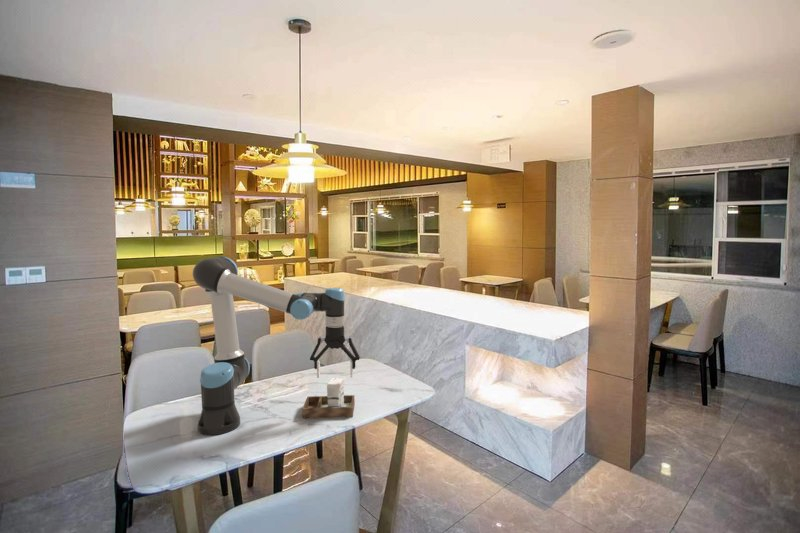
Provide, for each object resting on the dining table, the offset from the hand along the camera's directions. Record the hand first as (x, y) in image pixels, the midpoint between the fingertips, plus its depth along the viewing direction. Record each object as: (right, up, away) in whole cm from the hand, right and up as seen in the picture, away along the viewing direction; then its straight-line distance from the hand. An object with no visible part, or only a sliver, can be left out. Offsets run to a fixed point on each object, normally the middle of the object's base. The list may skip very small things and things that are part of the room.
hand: (335, 376), depth 181 cm
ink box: (0, -14, +1) cm, 14 cm away
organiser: (-2, -15, +1) cm, 15 cm away
